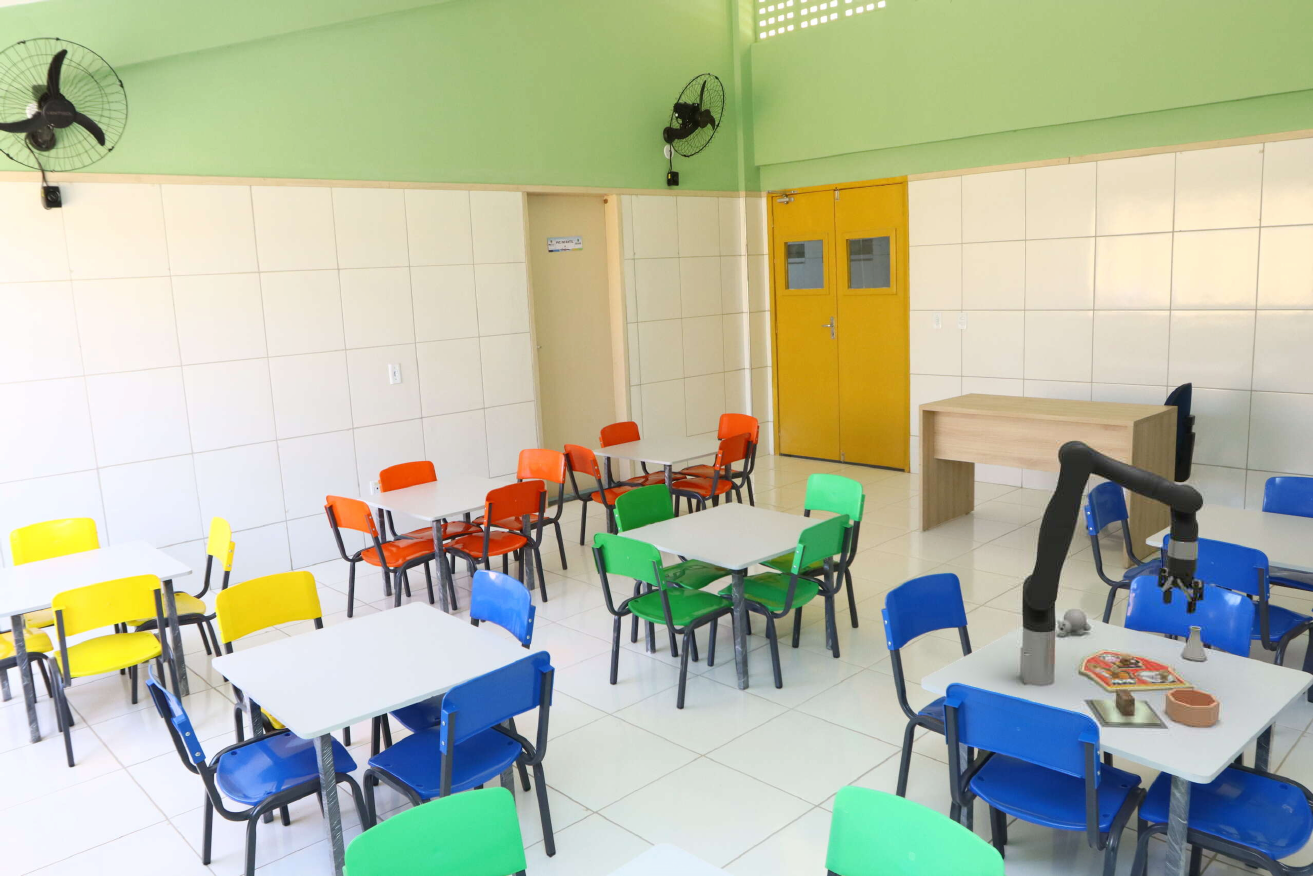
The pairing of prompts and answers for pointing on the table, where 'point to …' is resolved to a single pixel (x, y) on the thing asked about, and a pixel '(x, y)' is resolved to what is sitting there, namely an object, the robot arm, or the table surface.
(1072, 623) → the round bodied animal figurine
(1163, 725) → the mat
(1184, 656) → the flask
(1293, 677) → the table surface
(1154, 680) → the knob puzzle
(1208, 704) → the bowl
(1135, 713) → the lid
